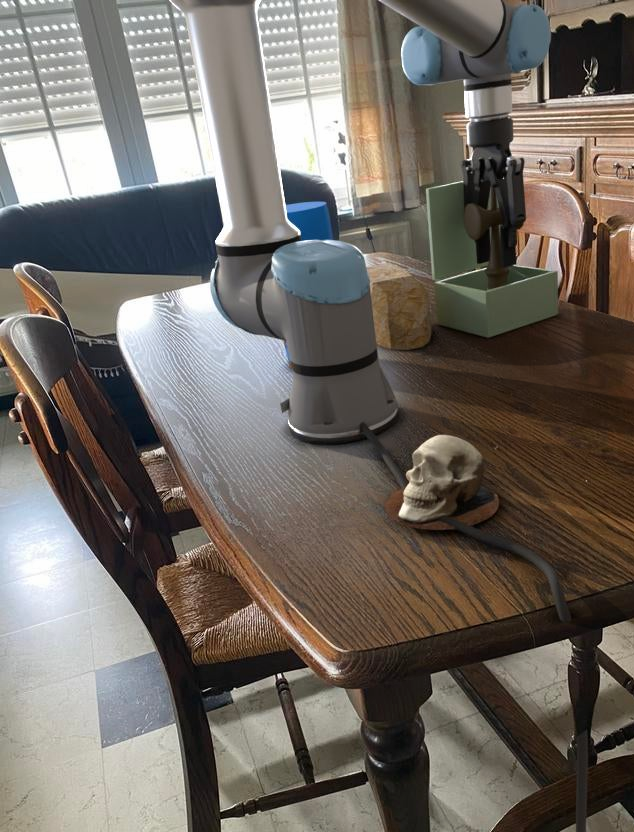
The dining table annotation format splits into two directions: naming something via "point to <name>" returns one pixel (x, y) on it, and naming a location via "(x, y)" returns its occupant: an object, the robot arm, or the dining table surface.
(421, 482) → the skull
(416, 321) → the bread
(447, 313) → the chest
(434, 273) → the chest lid
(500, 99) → the robot arm
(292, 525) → the dining table surface
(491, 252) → the kendama
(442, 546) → the dining table surface
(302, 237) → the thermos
